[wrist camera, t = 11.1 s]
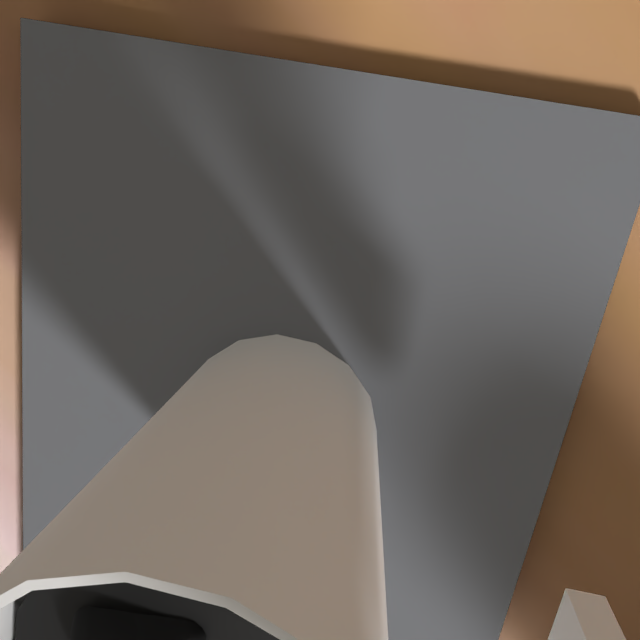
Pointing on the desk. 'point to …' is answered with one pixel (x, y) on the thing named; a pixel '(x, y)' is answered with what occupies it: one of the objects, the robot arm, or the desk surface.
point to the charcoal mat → (320, 277)
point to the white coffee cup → (222, 516)
